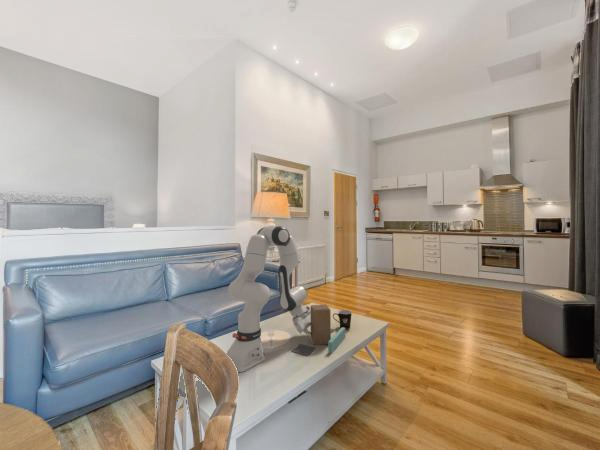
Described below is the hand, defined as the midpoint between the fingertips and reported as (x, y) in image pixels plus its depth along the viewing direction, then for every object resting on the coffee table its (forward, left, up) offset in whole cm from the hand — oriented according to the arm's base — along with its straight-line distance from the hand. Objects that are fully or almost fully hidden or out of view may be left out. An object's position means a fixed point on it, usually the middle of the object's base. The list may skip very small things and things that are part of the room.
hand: (314, 332), depth 162 cm
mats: (0, 0, -4) cm, 4 cm away
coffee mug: (+27, -8, -5) cm, 29 cm away
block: (0, -4, -5) cm, 6 cm away
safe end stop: (0, -14, -4) cm, 15 cm away
